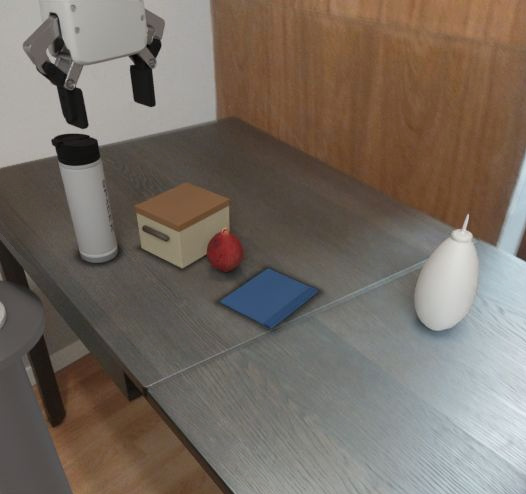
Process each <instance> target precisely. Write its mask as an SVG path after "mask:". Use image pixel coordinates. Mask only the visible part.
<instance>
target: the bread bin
mask: <svg viewBox="0 0 526 494" xmlns="http://www.w3.org/2000/svg"><path fill="white" fill-rule="evenodd" d="M230 205H231V200H230V198H229V197H226V196H223V195H221V194H218V193H216V192H213V191H210V190H208V189H205V188H203V187H200V186H198V185H195V184H194V183H193V184H192V183H190V182H188V181H186V182H184V183H181V184H179V185H177V186H175V187H173V188H171V189H168V190H165V191H164V192H162V193H160V194H157V195H155V196H153V197H151V198H149V199H146V200H144V201H142V202H140V203H138V204H135V205H134V212H135V213H136V220H137V225H138V226H137V227H138V234H139V241H140V248H141V249H142V250H144V251H146V252H148V253H150V254H152V255H154V256H156V257H159V258H160V259H163V260H164V261H167V262H168V263H171V264H172V265H174V266H176V267H178V268H180V269H184V268H186V267H187V266H189V265H191V264H193V263H195V262H196V261H198V260H199V259H201V258H203V257H205V256H207V246H208V243H209V242H210V240H211V239H212V237H214V236H215V235H216V234H217V233H219V232H221V230H222V229H223V228H224V227H228V229H229V233H231V231H230V230H231V229H230V228H231V227H230V226H231V225H230Z"/></svg>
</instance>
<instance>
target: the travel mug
mask: <svg viewBox="0 0 526 494" xmlns="http://www.w3.org/2000/svg"><path fill="white" fill-rule="evenodd" d="M50 141H51V145H52V146H53V147H54V148H55V152H56V153H55V154H56V158H57V163H58V167H59V171H60V177H61V180H62V184H63V188H64V192H65V196H66V200H67V205H68V209H69V213H70V217H71V221H72V225H73V226H72V227H73V231H74V234H75V239H76V242H77V247H78V251H79V256H80V257H81V259H82V260H83V261H85V262H87V263H91V264H102V263H106V262H110V261H111V260H113V259H115V258H116V256H118V253H119V247H118V243H117V237H116V232H115V225H114V221H113V214H112V209H111V204H110V199H109V193H108V187H107V182H106V176H105V172H104V165H103V160H102V155H101V152H100V146H99V140H98V139H97V138H94V137H92V136H91V135H89V134H85V133H62V134H58V135H55V136H54V137H53V138H52V139H51V140H50Z"/></svg>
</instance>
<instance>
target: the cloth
mask: <svg viewBox="0 0 526 494" xmlns="http://www.w3.org/2000/svg"><path fill="white" fill-rule="evenodd" d="M318 293H319V290H318V289H317V288H315V287H313V286H309V285H306V284H305V283H302V282H301V281H297V280H295V279H293V278H291V277H289V276H288V275H287V276H286V275H284V274H282V273H280V272H278V271H275V270H273V269H271V268H268V267H267V268H266V269H264V270H263V271H262V272H261V273H259V274H257V275H256V276H254V277H253V278H252V279H250V280H248V281H246V282H245V283H244V284H242V285H241V286H239V287H238V288H236V289H235V290H234V291H232V292H231V293H230V294H228V295H226V296H225V297H223V298H222V299H221V300H220V301H219V303H220V304H222V305H223V306H226V307H228V308H230V309H232V310H233V311H235V312H237V313H239V314H241V315H243V316H245V317H247V318H249V319H250V320H253V321H254V322H257V323H258V324H261V325H263V326H264V327H267V328H268V329H271V330H273V329H274V328H275V327H276V326H277V325H279V324H280V323H281V322H282V321H284V320H285V319H287V317H289V316H290V315H291V314H292V313H294V312H295V311H296V310H298V309H299V308H300V307H301V306H302V305H304V304H305V303H306V302H308V301H309V300H310V299H311V298H313V297H314V296H315V295H316V294H318Z"/></svg>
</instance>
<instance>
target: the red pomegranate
mask: <svg viewBox="0 0 526 494" xmlns="http://www.w3.org/2000/svg"><path fill="white" fill-rule="evenodd" d="M206 258H207V262H209V264H210V266H212V267H213V268H214V269H216V270H217V271H220V272H223V273H229V272H230V271H232V270H234V269H236V267H238V266H239V265H240V264H241V262H242V260H243V258H244V247H243V245H242V242H241V241H240V239H239V238H238V237H237V236H236V235H235V234H233V233H231V232H230V233H229V229H228V227H224V228H223V229H222V230H221V232H219V233H217V234H216V235H215V236H214V237H212V239H211V240H210V242H209V243H208V246H207V254H206Z"/></svg>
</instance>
